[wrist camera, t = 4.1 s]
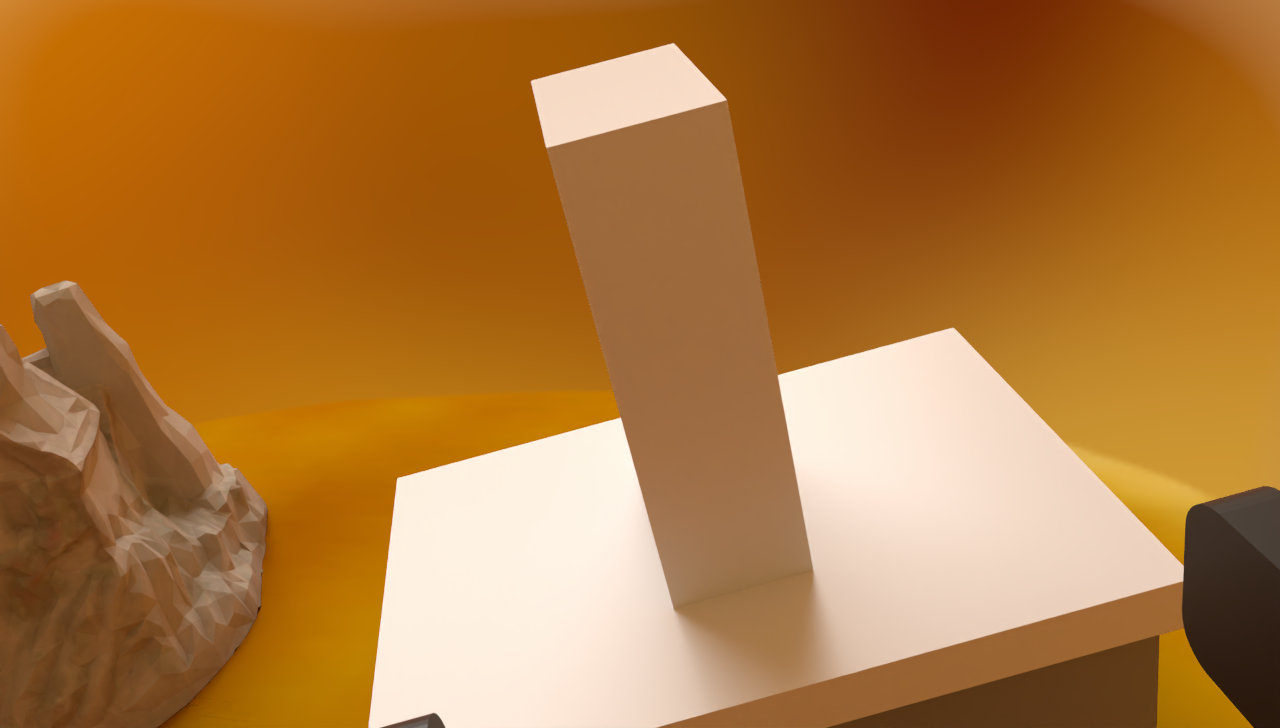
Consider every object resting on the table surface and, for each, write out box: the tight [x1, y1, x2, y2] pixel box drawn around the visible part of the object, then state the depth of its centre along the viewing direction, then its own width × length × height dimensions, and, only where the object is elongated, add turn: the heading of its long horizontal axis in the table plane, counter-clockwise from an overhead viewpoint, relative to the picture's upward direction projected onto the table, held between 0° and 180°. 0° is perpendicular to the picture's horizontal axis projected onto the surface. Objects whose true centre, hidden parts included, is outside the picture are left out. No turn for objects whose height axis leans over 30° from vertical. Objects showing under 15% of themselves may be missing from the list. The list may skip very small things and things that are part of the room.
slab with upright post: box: [369, 43, 1184, 728], centre depth 22 cm, size 11×16×13 cm
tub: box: [827, 635, 1159, 728], centre depth 26 cm, size 10×15×7 cm, turn 98°
